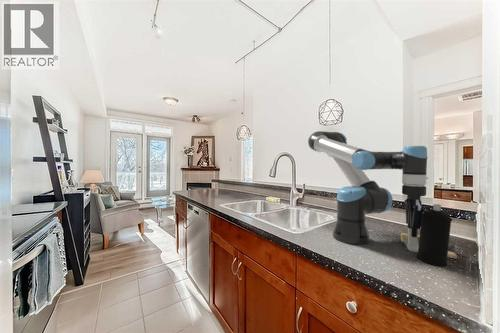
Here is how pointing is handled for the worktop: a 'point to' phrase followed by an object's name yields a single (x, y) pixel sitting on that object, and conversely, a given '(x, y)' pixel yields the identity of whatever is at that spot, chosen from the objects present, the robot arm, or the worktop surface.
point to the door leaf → (451, 251)
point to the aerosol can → (434, 236)
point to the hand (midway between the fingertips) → (412, 244)
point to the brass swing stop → (405, 237)
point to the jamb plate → (412, 247)
